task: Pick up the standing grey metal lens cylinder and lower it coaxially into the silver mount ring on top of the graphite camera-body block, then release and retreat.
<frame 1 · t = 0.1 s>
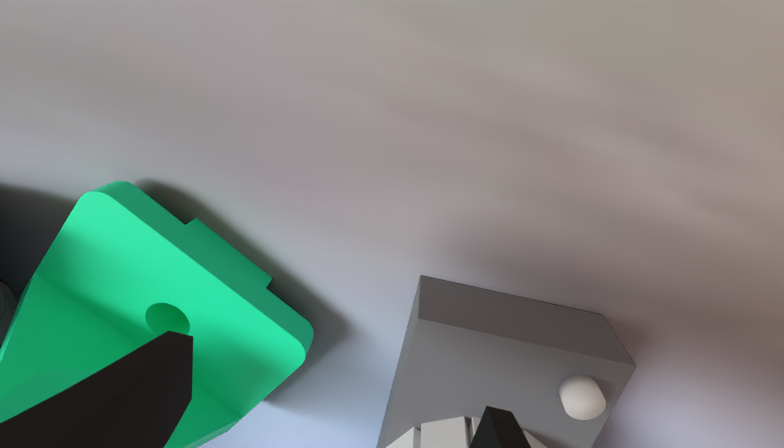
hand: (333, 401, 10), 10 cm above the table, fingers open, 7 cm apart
bluetooth speaker: (6, 347, 25), on the table
camera mount: (199, 290, 22), on the table
camera body: (472, 401, 22), on the table
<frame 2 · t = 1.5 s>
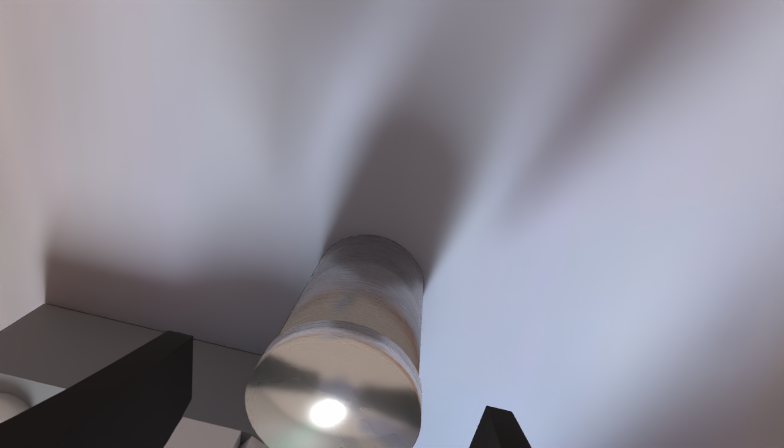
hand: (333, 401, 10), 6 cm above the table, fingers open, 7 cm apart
lens: (369, 284, 15), on the table
camera body: (204, 420, 19), on the table
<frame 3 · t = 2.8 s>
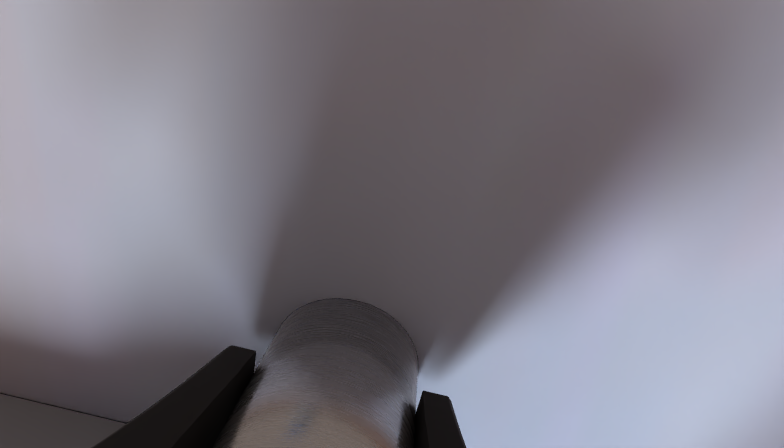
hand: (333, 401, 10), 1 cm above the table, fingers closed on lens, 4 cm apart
lens: (345, 360, 11), on the table, touching gripper
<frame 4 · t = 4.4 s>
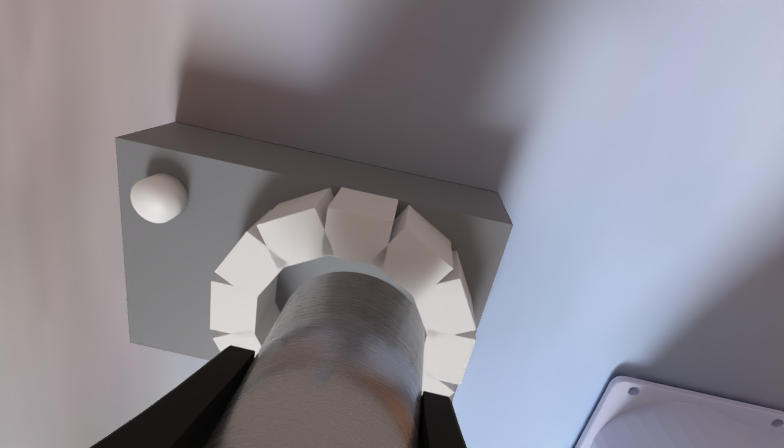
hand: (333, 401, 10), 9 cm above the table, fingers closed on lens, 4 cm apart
lens: (352, 333, 11), point 8 cm above the table, touching gripper
camera body: (322, 250, 19), on the table
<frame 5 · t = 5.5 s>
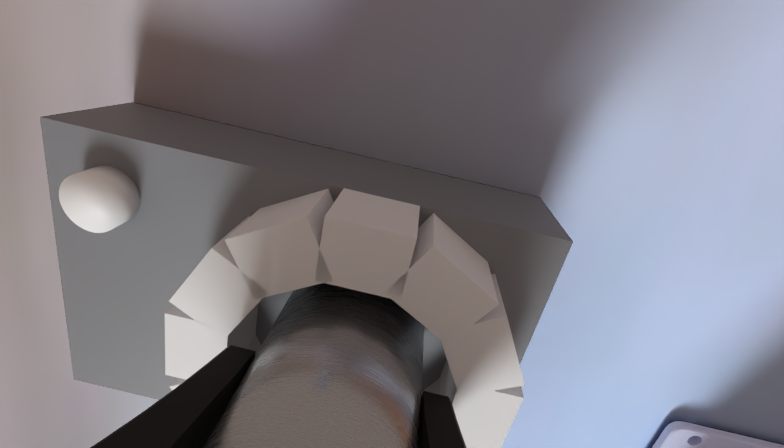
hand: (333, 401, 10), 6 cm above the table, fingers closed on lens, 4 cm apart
lens: (351, 333, 11), point 4 cm above the table, touching gripper
camera body: (317, 265, 15), on the table
when the fingers open (6 cm above the table, at t = 6.1 s): lens stays where it is, resting on camera body.
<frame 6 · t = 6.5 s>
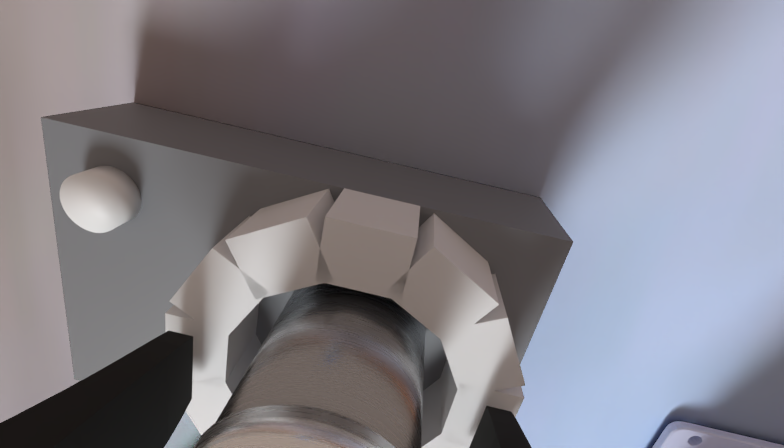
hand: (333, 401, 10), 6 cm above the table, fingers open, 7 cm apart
lens: (357, 319, 12), point 4 cm above the table, touching camera body
camera body: (317, 265, 15), on the table
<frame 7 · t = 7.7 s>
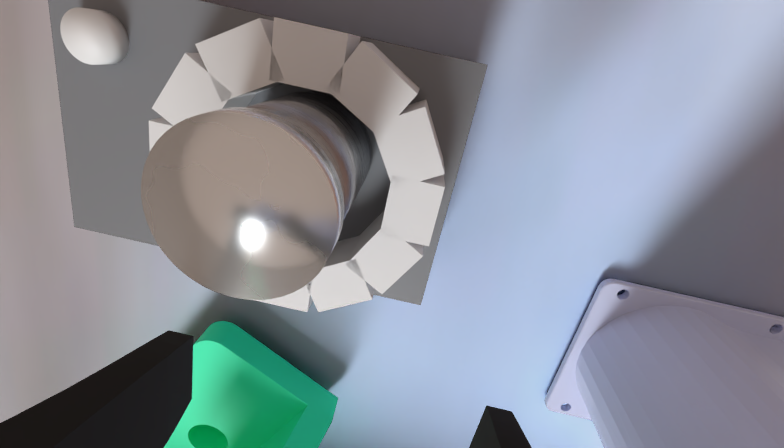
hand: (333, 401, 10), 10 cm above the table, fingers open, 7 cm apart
camera mount: (231, 398, 24), on the table
lens: (314, 151, 14), point 3 cm above the table, touching camera body
camera body: (287, 137, 18), on the table
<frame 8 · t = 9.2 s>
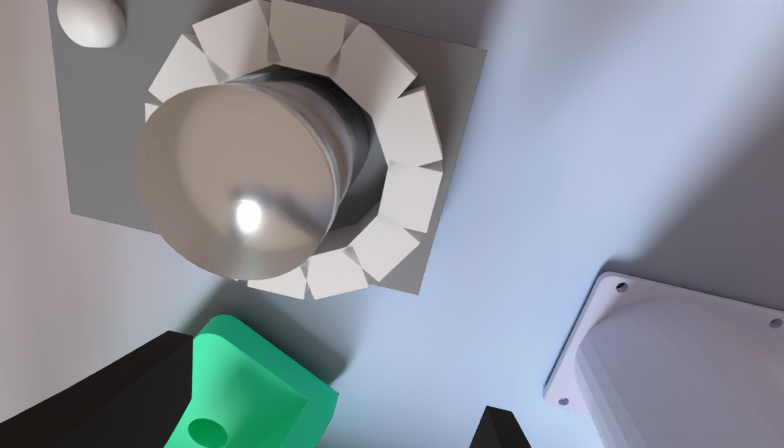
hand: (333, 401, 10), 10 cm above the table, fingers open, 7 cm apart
camera mount: (231, 393, 24), on the table
lens: (311, 138, 14), point 3 cm above the table, touching camera body
camera body: (286, 126, 17), on the table
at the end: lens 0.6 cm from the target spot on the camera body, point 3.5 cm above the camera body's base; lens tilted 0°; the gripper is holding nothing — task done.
